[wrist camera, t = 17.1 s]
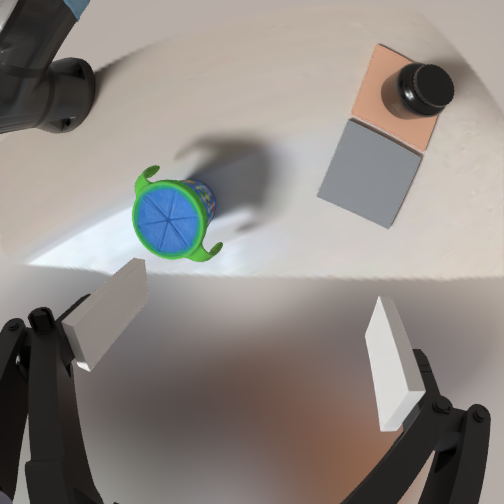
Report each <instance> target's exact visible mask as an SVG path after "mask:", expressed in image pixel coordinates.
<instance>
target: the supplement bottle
mask: <svg viewBox="0 0 504 504" xmlns="http://www.w3.org/2000/svg"><path fill="white" fill-rule="evenodd" d="M453 96H454V86H453V82H452V80H451V78H450V77H449V75H448V74H447V73H446V71H444V70H443V69H442V68H440V67H439V66H436V65H432V64H431V65H429V64H427V65H426V64H423V63H410V64H407V65H405V66H404V67H402V68H401V69H399V70H398V71H396V72H395V73H393V74H392V75H391V76H389V77H388V78H387V79H386V80H385V81H384V82H383V84H382V87H381V99H382V102H383V104H384V106H385V107H386V109H387V110H388V111H389V112H390V113H391V114H392V115H394V116H395V117H397V118H400V119H404V120H412V119H421V118H429V117H434V116H437V115H439V114H440V113H441V112H442V111H443V110H444V109H445V107H446V105H447V104H449V103H450V102H451V101H452V99H453Z"/></svg>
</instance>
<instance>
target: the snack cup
mask: <svg viewBox="0 0 504 504" xmlns="http://www.w3.org/2000/svg"><path fill="white" fill-rule="evenodd" d="M159 168H160V167H159V166H157V165H155V166H151V167H149V168H147V169H146V170H145V171H143V173H142V174H141V175H140V176H139V177H138V179H137V180H136V183H135V193H136V200H135V202H134V205H133V210H132V221H133V226H134V229H135V232H136V235H137V236H138V238H139V240H140V241H141V243H142V244H143V245H144V246H145V247H146V248H147V249H148V250H149V251H150V252H152V253H153V254H155V255H157V256H159V257H161V258H165V259H170V260H174V259H181V258H188V259H190V260H193V261H196V262H205V261H208V260H209V259H211V258H212V257H213V256H215V255H216V254H217V253H218V252H219V251H220V250H221V248H222V246H223V243H222V242H220V243H217V244H216V245H215V246H214V247H213V248H212V249H211V250H210V252H207V251H206V250H205V249H204V248H203V245H202V241H203V239H204V237H205V234H206V230H207V227H208V225H209V224H210V222H211V220H212V218H213V215H214V213H215V207H216V206H215V205H216V200H215V197H214V196H213V194H212V191H211V190H210V189H209V188H208V187H207V186H206V185H204V184H203V183H201V182H200V181H195V180H181V181H177V180H160V181H157V182H154V183H152V182H149V181H148V180H147V179H146V178H149V177H152V176H153V175H154V174H155V173H156V172H157V171H158V170H159Z"/></svg>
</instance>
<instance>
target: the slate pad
mask: <svg viewBox="0 0 504 504" xmlns="http://www.w3.org/2000/svg"><path fill="white" fill-rule="evenodd" d="M420 160H421V157H419V156H418V155H416V154H414V153H412V152H411V151H409V150H407V149H405V148H404V147H402V146H400V145H398V144H396V143H394V142H393V141H391V140H389V139H387V138H385V137H383V136H381V135H379V134H377V133H375V132H373V131H371V130H369V129H367V128H365V127H363V126H361V125H359V124H357V123H354V122H352V121H350V120H348V121H347V123H346V126H345V128H344V131H343V133H342V136H341V138H340V141H339V143H338V146H337V148H336V151H335V153H334V156H333V158H332V160H331V163H330V165H329V168H328V170H327V172H326V175H325V177H324V180H323V182H322V184H321V187H320V189H319V191H318V194H317V197H319V198H321V199H324V200H326V201H328V202H331V203H333V204H335V205H337V206H340V207H342V208H344V209H346V210H349V211H351V212H353V213H355V214H357V215H359V216H362V217H364V218H366V219H368V220H370V221H372V222H374V223H377V224H379V225H381V226H383V227H385V228H387V229H389V228H390V226H391V224H392V222H393V220H394V218H395V216H396V214H397V211H398V209H399V207H400V205H401V203H402V201H403V199H404V197H405V195H406V192H407V190H408V188H409V186H410V184H411V181H412V179H413V177H414V175H415V172H416V170H417V168H418V165H419V163H420Z"/></svg>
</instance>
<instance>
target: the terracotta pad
mask: <svg viewBox="0 0 504 504" xmlns="http://www.w3.org/2000/svg"><path fill="white" fill-rule="evenodd" d="M410 63H413V62H411V61H409V60H408V59H406V58H404V57H402V56H400V55H398V54H396V53H395V52H393V51H391V50H389V49H387V48H385V47H383V46H380V45H378V44H377V45H376V47H375V49H374V52H373V55H372V58H371V60H370V63H369V66H368V69H367V71H366V74H365V77H364V79H363V82H362V85H361V87H360V90H359V93H358V95H357V98H356V100H355V103H354V106H353V108H352V111H351V113H350V114H352V115H354V116H356V117H358V118H360V119H362V120H364V121H366V122H369V123H371V124H373V125H375V126H377V127H379V128H381V129H383V130H384V131H386V132H388V133H390V134H392V135H394V136H396V137H398V138H399V139H401V140H403V141H405V142H407V143H408V144H410V145H412V146H414V147H415V148H417V149H419V150H420V151H422V152H424V151H425V148H426V146H427V143H428V141H429V138H430V135H431V133H432V130H433V127H434V125H435V122H436V119H437V116H438V115H437V116H434V117H429V118H421V119H412V120H404V119H400V118H397V117H395V116H394V115H392V114H391V113H390V112H389V111H388V110H387V109H386V107H385V106H384V104H383V102H382V99H381V87H382V84H383V82H384V81H385V80H386V79H387V78H388V77H389V76H391V75H392V74H393V73H395V72H396V71H398V70H399V69H401V68H402V67H404V66H405V65H407V64H410Z"/></svg>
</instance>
